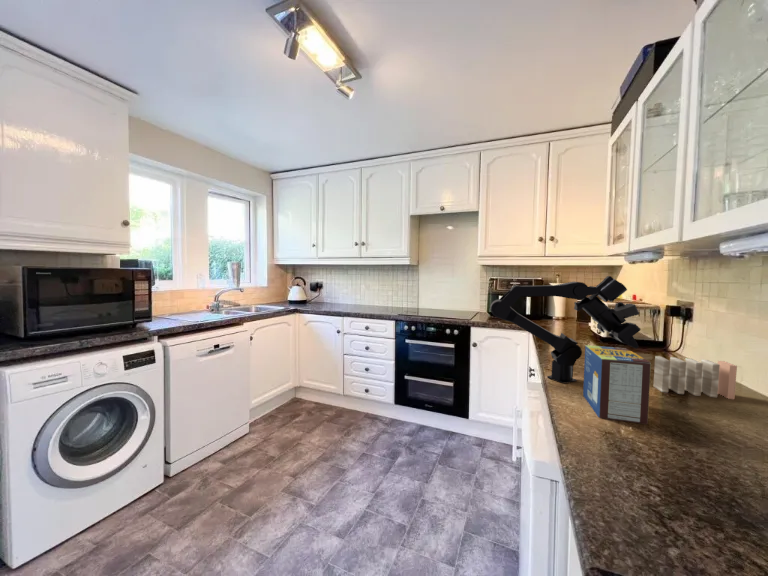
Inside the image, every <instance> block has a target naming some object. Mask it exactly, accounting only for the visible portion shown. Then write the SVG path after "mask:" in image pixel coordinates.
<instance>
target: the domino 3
mask: <svg viewBox="0 0 768 576" xmlns="http://www.w3.org/2000/svg"><path fill="white" fill-rule="evenodd" d="M685 362H686V375H685V390H684V391H686V392H687V391H688V392H687V393H689V394H691V395H693V396H696V397H697V396H698V397H701V394H702V392H701V382H702V367H703V363H701V361H698V360H697V359H696V360H695V359H694V358H689V357H688V358H686V357H685Z"/></svg>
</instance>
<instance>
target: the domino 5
mask: <svg viewBox="0 0 768 576" xmlns="http://www.w3.org/2000/svg"><path fill="white" fill-rule="evenodd" d="M717 364H719V365H720V367H719V381H718V395H719V394H720V396H721V395H722V396H721V397H723V396H724V397H723V398H726V399H727V398H728V399H727V400H735V395H736V386H737V385H736V384H737V372H738V371H737V370H738V366H737V365H736V364H733V363H730V362H728V361H725V360H717Z"/></svg>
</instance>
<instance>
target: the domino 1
mask: <svg viewBox="0 0 768 576" xmlns="http://www.w3.org/2000/svg"><path fill="white" fill-rule="evenodd" d="M654 357H655V358H654V371H653V373H654V374H653V388H655V389H656V390H658V391H660V393H669V390H670V389H669V373H670V359H667V358H665V357H664V356H659V355H655V356H654Z"/></svg>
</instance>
